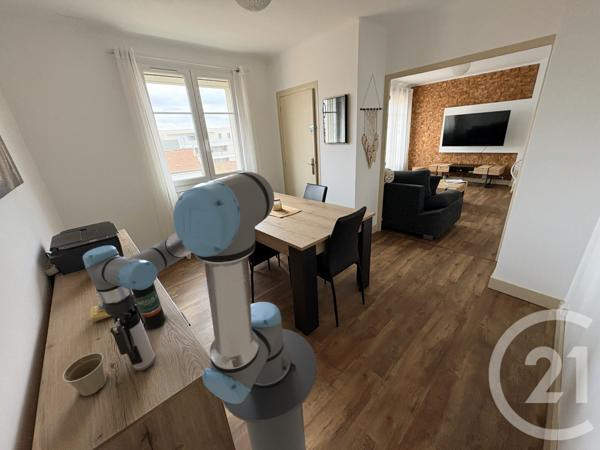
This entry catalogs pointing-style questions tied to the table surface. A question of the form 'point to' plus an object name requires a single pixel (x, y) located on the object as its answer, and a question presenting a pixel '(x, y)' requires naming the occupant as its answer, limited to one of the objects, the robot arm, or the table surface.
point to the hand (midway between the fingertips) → (141, 353)
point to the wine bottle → (150, 307)
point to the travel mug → (140, 342)
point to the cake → (98, 313)
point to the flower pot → (86, 374)
